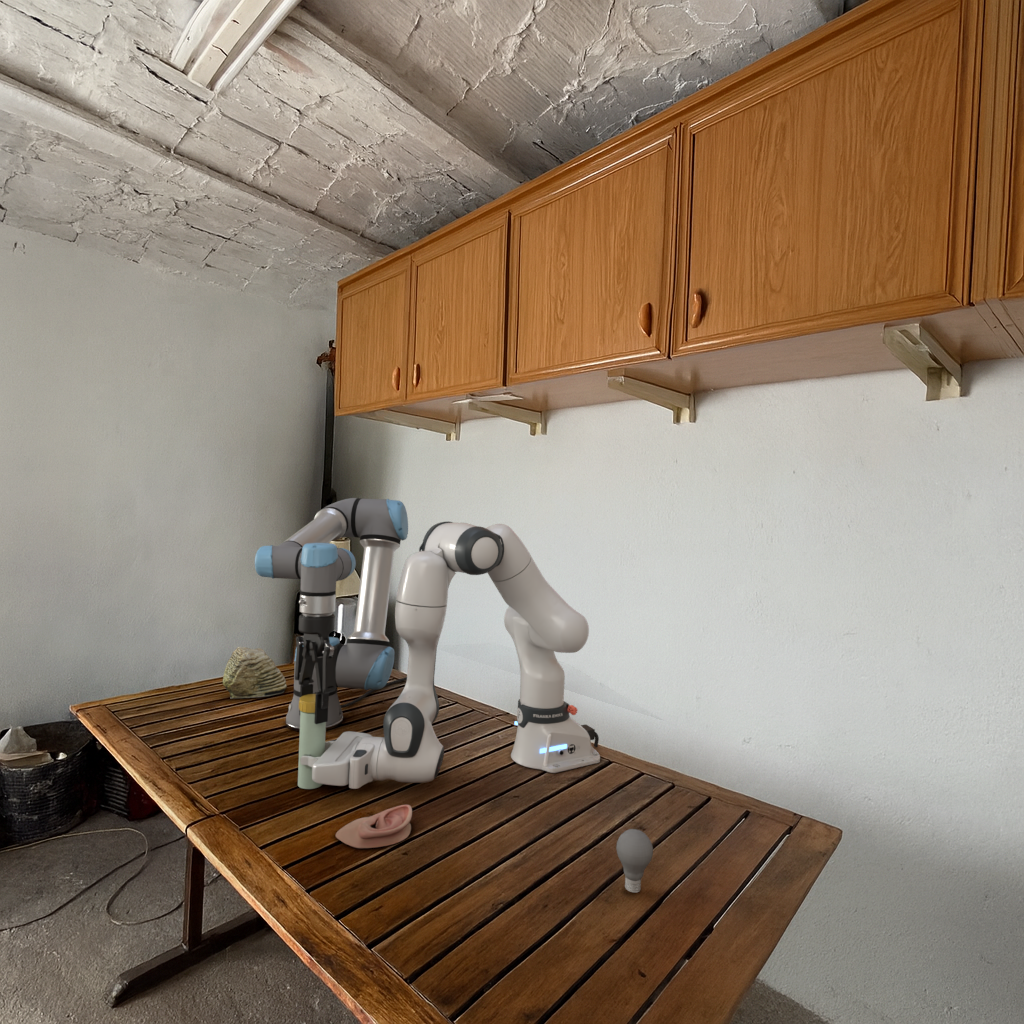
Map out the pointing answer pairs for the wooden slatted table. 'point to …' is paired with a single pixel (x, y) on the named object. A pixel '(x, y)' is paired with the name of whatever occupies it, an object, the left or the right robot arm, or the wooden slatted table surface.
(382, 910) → the wooden slatted table surface
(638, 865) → the light bulb
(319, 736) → the pale green bottle
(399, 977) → the wooden slatted table surface
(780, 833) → the wooden slatted table surface
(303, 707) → the lid
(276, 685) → the fossil
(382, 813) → the anatomical model
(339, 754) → the right robot arm
